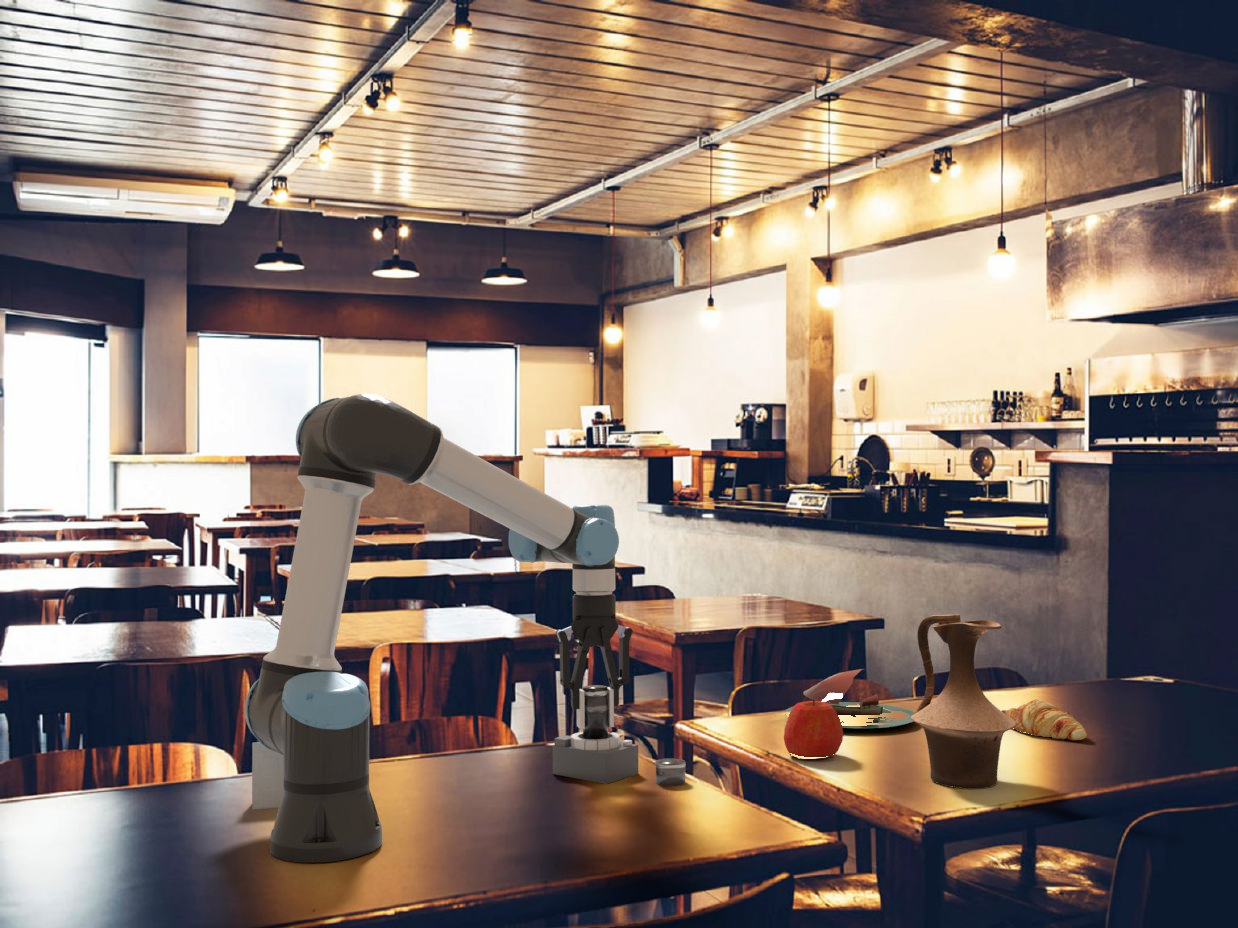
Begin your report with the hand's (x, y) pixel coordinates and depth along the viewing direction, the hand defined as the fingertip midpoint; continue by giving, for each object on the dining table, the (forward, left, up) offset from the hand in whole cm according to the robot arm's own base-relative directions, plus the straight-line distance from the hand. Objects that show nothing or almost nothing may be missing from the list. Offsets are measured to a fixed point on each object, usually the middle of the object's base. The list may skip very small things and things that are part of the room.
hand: (595, 726), depth 204 cm
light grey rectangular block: (-46, +28, -8) cm, 55 cm away
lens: (0, 0, -2) cm, 2 cm away
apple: (+34, -24, -8) cm, 42 cm away
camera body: (0, 0, -8) cm, 8 cm away
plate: (+68, -14, -8) cm, 70 cm away
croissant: (+79, -50, -9) cm, 95 cm away
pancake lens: (+3, -14, -8) cm, 17 cm away
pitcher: (+33, -53, -8) cm, 63 cm away
